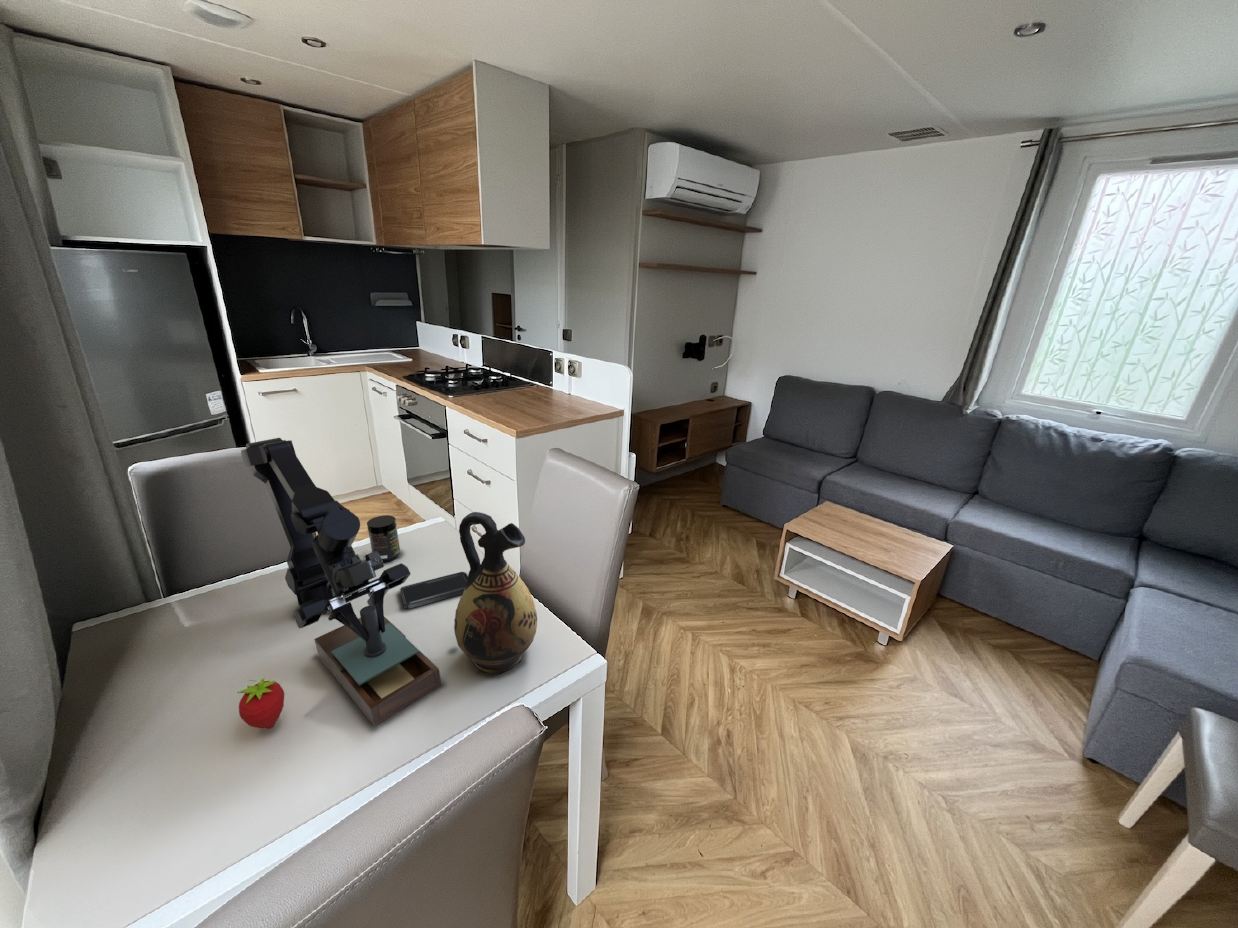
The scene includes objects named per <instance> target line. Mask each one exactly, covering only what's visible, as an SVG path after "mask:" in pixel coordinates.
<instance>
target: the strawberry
mask: <svg viewBox="0 0 1238 928" xmlns="http://www.w3.org/2000/svg"><path fill="white" fill-rule="evenodd" d="M265 679H266V676H264V677H262V679H260V680H259V681H257V680H253V679H248V681H250V682H255V684H254V685H247V686H246V687H247V688H246V689H245V688H244V689H242V690H239V691H237V692H236V693H237V694H243V695H242V697H241V699H240V700H239V703H238V713H239V717H240V719H241V720H242V721H243V722H244V723H245V724H246V725H247V726H249V727H252V728H256V729H266V730H270V729H273V727H274V726H275V725H276V723H277V721H278V720H279V718H280V716H281V714H282V711H283V708H284V705H285V691H284V689H283V687H282V686H281V685H280V683H279V682H278V681H276V679H273V680H265Z"/></svg>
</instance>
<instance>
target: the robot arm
mask: <svg viewBox="0 0 1238 928" xmlns="http://www.w3.org/2000/svg"><path fill="white" fill-rule="evenodd" d="M240 455H241V458H242V461H243V464H244V465H245V466H246V467H248V468H249V470H250V472H251V474H252V476H254V477H255V478H257V479H258V480H260V481H261V482H262V483H264V484H265V486H266V488H267V490H268V493H269V496H270V499H271V501H272V504H273V506H274V509H275V511H276V513H277V515H278V518H279V522H280V523H281V526H282V528H283V531H284V534H285V536H286V539H287V541H288V544H289V547H290V549H289V553H288V556H287V559H286V564H287V566H288V568H287V569H286V573H285V576H284V579H285V583H286V584H287V587H288V588H289V590H290V591H291V592H292V593H293V594H294V595H296V599H297V604H298V606H297V609H296V610H295V613H294V616H293V617H294V621H295V623H296V625H297V628H298V629H299V630H300V629H303V628H306V627H308V626H310V625H312V624H315V623H317V622H319V621H320V619H321V616H322V614H328V617H327V618H328V619H327V620H328V621H330V622H331V621H333V620H336V621H337V622H339V623H341V624H342V625H346V626H347V627H348V628H350V629H351V630H352V631H353V632H355V633H356V634H357V635H358V636H360V637H361V638H362V639H363V640H364V641H368V639H369V638H368V636H367V633H366V631H365V629H364V628H363V626H362V624H361V623H360V621H359V619H358V616H357V615H356V613H355V611H354V608H353V605H352V603H351V602H352V601H354V600H356V599H358V598H361V597H363V596H365V595H367V596H368V599H367V601H366V603H367V606H375V607H376V611H377V617H378V622H379V628H380V631H381V632H382V633H383V632H385V622H384V617H385V612H384V600H385V596H386V594H387V593H388V592H389V590H392V589H394V588H396V587H398V586H401V585H402V584H405V582H406V581H407V579H408V578H409V577H410V576H411V575H412V574H411V571H410V570H409V568H408V565H406V564H404V563H402V562H401V563H398V564H396V565H394V566H390V567H389V568H386V569H383V568H384V567H385V563H384V562H383V561H382V558H381V556H380V555H379V553H378V551H374V552H372V551H371V552H369V553H367V554H365V555H364V558H365V559H364V560H362V559H361V557H360V555H359V554H358V553H357V554H356V552H355V549H354V548H353V546H352V545H353V543H354V542H355V539H356V537H357V535H358V534H359V531H360V529H361V521H360V518H359V517H358V516H357V515H356V514H355V513H353V512H352V511H351V510H350V509H348V508H347V507H345V506H344V505H343V504H341V503H340V502H339V501H338V500H335V498H334V497H333V496H332V495H331V493H330V492H329V491H328V490H325V489H323V488H321V487H318V486H316V484H315V483H314V481H313V479H312V478H311V477H310V475H309V474H308V472H307V470H306V468H305V467H304V466H303V464H302V463H301V461H300V459H299V458H298V456H297V454H296V449H295V447H294V444H293V440H292V439H290V440H286V439H282V438H281V437H273V438H269V439H263V440H258V441H254V442H247V443H246V444H245V448H244V449H241V451H240ZM314 533H317V535H316V536H315V537H314ZM380 569H383V571H382V573H381V574H380V576H379V577H377V573H376V571H377V570H380ZM376 577H377V578H376ZM374 578H375V579H374ZM370 580H371V581H370Z"/></svg>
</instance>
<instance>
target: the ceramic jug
mask: <svg viewBox="0 0 1238 928" xmlns="http://www.w3.org/2000/svg"><path fill="white" fill-rule="evenodd" d="M477 525H481V526H482V528H483V529H484V531H485V533H484V534H482V535H481V536H480V538H479V539H478V540H477V546H479V548H483V550H484V556H483V559H482V561H481V559H480V557H479V556H480V555H479V553H478V551H477V549H476V546H475V542H474V539H473V536H472V533H471V528H472V526H477ZM458 532H459V540H460V541H459V542H460V544H461V546H462V550H463V552H464V554H465V555H464V556H465V558H466V560H467V563H468V565H469V571H468V574H467V576H468V579H467V585H466V588H465V590H464V592H463V594H461V595H460V596H461V597H460V598H459V600H458V603H457V607H456V609H455V615H454V625H453V630H454V636H455V640H456V643H457V646H458V648H459V649H460V650H461V652H463V654H465V656H466V657H468V658H469V659H470V660H471V661H472V662H473V664H474V666H476V668H477V669H479V670H480V671H483V672H485V673H489V674H492V675H500V674H503V673H505V672H507V671H509V670H512V669H514V668H516V667H517V666H518V665H520V663H522V657H523V654H524V653H525V652H526V651H527V650H528V649H529V647H530V646H531V645H532V644H533V642H534V640H535V639H534V638H535V636H536V633H537V628H538V614H537V609H536V605H535V602H534V598H533V596H532V594H531V592H530V589H529V587H528V586H527V585H526V584H525V582H524V580H522V578H521V577H520V575H519V574H518V573H517V572H516V570H515V569H514V568H512V567H511V566H510V564H509V563H508V562H507V561H506V559H505V557H504V553H505V552H506V551H508V550H511V549H517V548H521V547H523V546H524V545H525V544H526V538H525V536H524V534H523V532H522V531H521V530H520V528H519V527H518V526H517V525H515V524H514V523H512V522H511V523H508V524H507V525H505V526H504V527H502V528H500V529H499V530H498V526H497V523H496V521H495V520H494V519H493V517H492V516H491V515H489V514H487V513H484V512H480V511H472V512H470V513H468V514H467V515H466V516H464V517H463V518H462V519H461V522H460V524H459V528H458Z"/></svg>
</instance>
